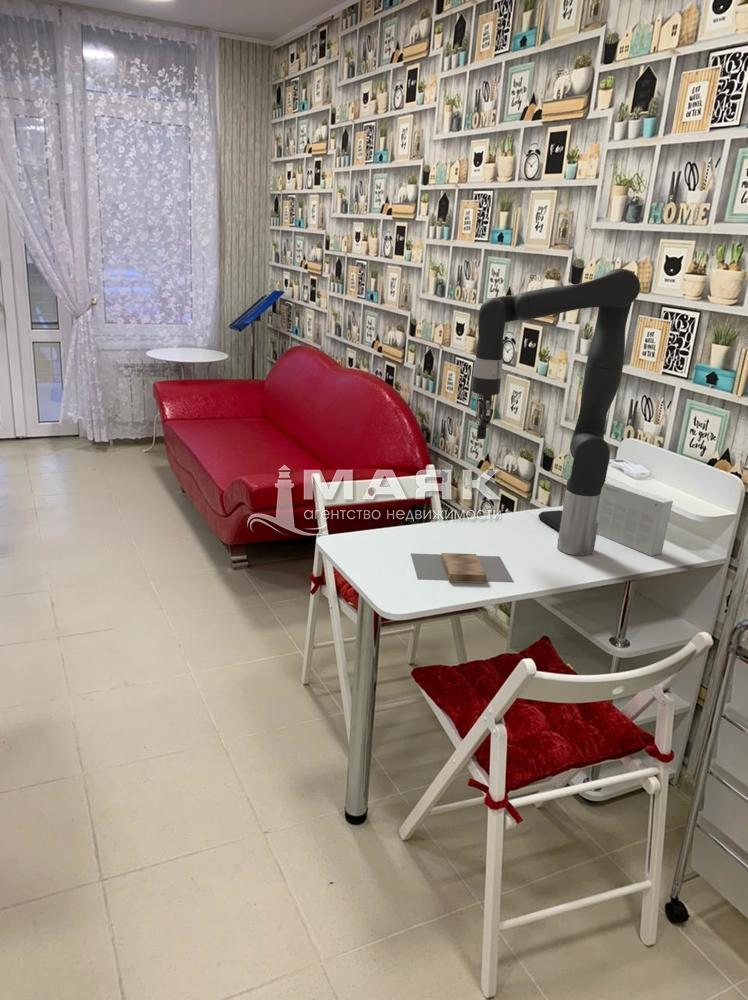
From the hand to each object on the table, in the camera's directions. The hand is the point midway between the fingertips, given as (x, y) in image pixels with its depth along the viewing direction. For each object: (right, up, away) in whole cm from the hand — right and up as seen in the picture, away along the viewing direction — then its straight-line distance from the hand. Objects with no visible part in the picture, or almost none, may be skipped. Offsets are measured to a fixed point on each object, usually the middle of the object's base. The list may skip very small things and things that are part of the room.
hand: (480, 438), depth 207 cm
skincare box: (+44, -30, +12) cm, 54 cm away
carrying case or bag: (+28, -25, +22) cm, 44 cm away
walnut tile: (-7, -32, -11) cm, 34 cm away
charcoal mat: (-7, -35, -14) cm, 38 cm away
